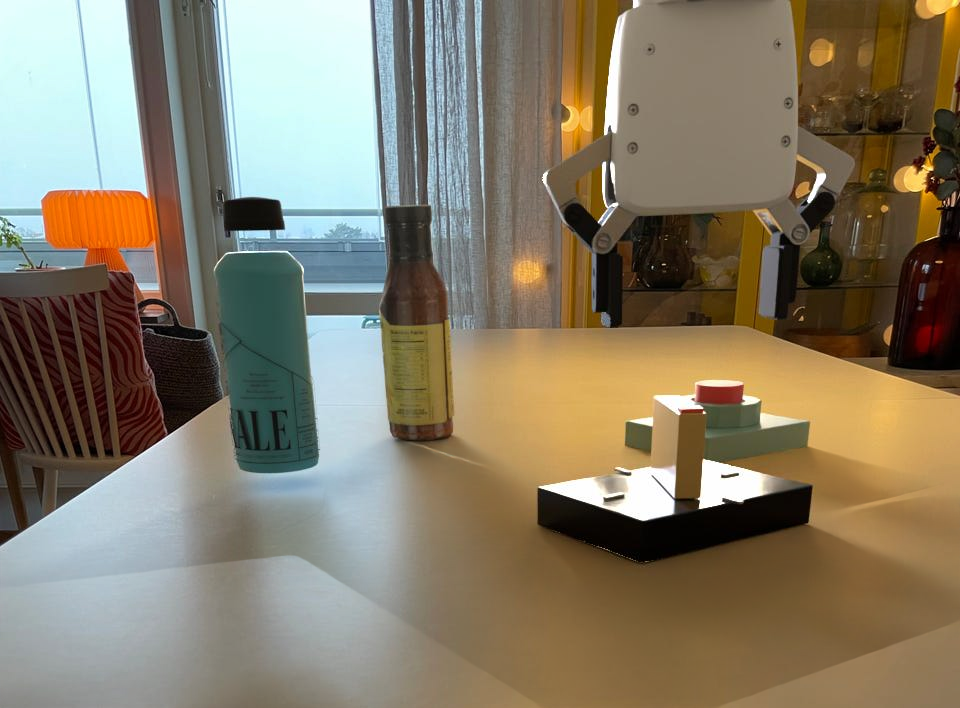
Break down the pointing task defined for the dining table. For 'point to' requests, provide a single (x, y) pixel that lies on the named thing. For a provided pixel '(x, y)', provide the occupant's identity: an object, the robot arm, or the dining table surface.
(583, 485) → the dial base
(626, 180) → the robot arm
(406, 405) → the sauce bottle
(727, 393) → the button
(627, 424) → the button block
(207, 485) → the dining table surface
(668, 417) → the tan rectangular block
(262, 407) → the beverage bottle
